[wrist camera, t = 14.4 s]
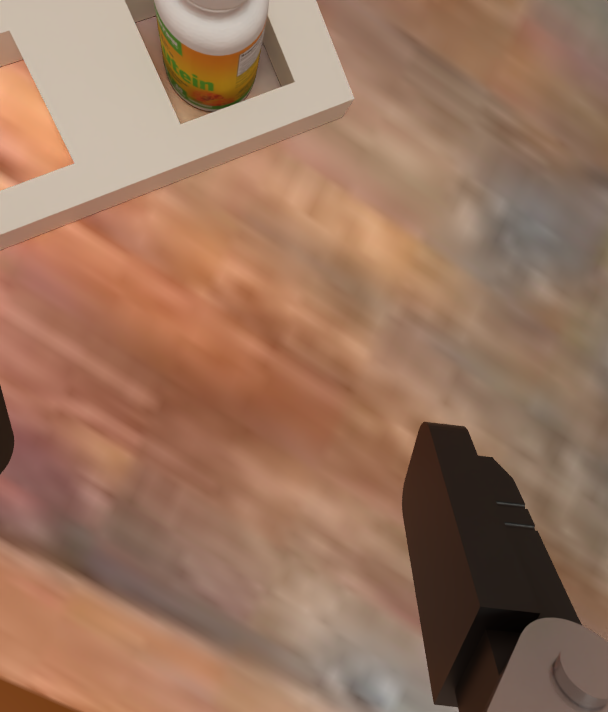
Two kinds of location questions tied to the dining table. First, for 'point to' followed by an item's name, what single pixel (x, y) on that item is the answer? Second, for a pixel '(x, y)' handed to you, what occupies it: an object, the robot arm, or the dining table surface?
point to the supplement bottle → (211, 48)
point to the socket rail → (148, 104)
